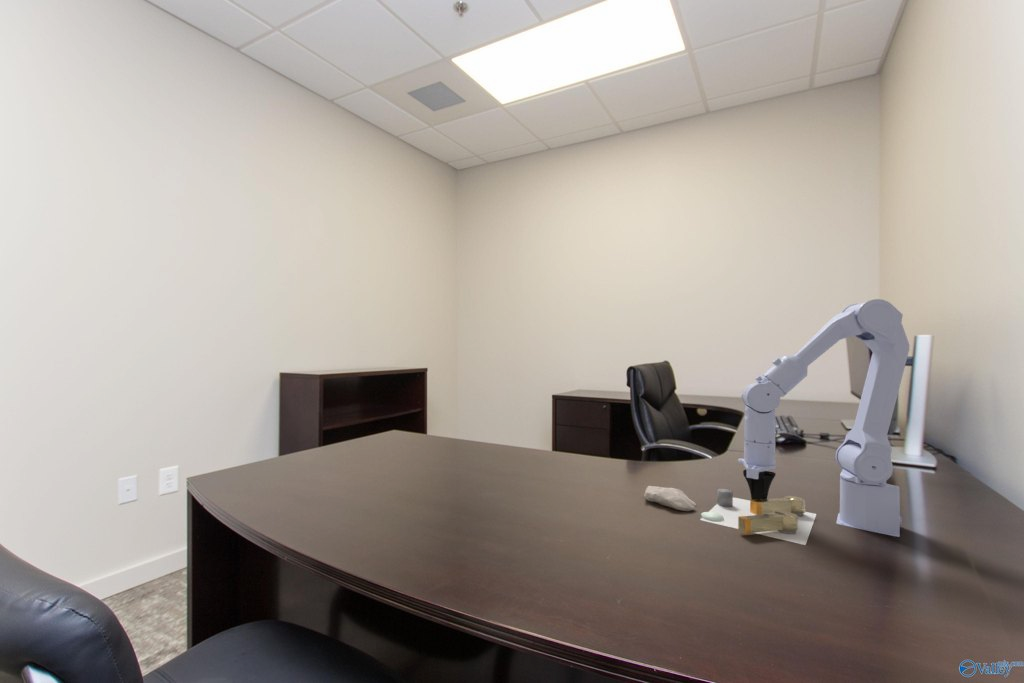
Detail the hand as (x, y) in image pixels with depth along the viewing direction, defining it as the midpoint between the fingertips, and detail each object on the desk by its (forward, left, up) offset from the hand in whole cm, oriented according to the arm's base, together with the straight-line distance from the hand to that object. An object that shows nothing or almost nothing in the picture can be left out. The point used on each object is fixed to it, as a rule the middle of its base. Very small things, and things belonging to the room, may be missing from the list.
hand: (758, 506), depth 95 cm
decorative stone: (+17, +6, -2) cm, 18 cm away
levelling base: (-1, +3, -2) cm, 4 cm away
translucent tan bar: (-4, +12, 0) cm, 12 cm away
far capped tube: (-3, -1, 0) cm, 4 cm away
